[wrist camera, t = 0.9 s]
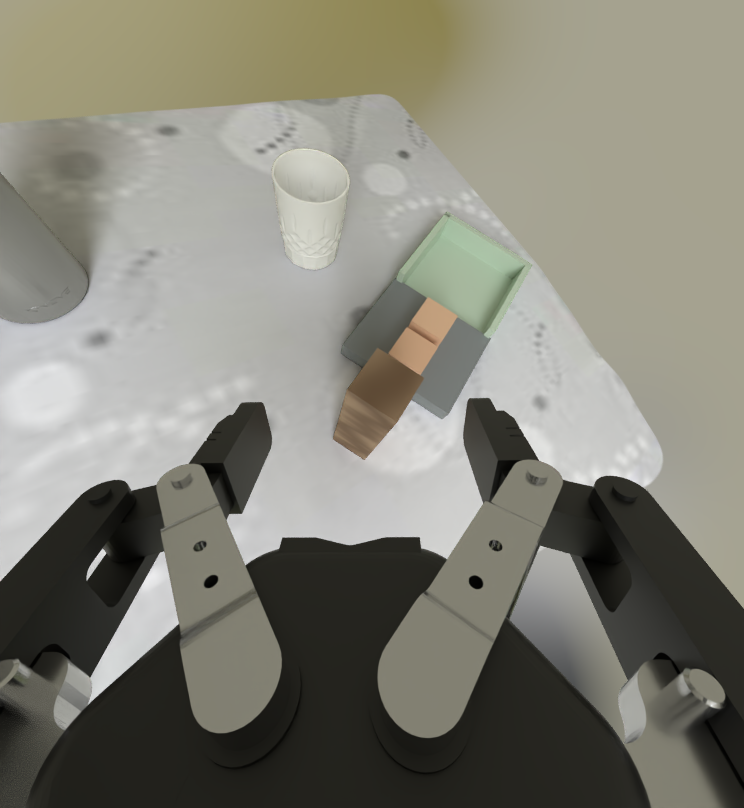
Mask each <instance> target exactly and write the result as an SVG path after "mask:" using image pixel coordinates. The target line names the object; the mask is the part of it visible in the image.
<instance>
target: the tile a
mask: <svg viewBox="0 0 744 808" xmlns="http://www.w3.org/2000/svg"><path fill="white" fill-rule="evenodd" d="M437 348H438V347H437V346H436V345H434V344H433V343H431V342H430V341H428V340H427V339H425V338H423V337H422V336H420V335H419V334H417V333H416V332H414V331H413V330H411V329H409V328H408V327H407V328H406V329H405V330H404V332H403V333H402V335H401V336H400V337H399V339H398V340H397V342H396V343H395V344H394V346H393V347H392V349H391V350H390V352H389V353H388V355H390V356H391V357H393V358H394V359H396V360H397V361H399V362H400V363H402V364H404V365H405V366H407V367H408V368H410V369H411V370H413V371H414V372H416V373H417V374H419V375H421V374H422V372H423V370H424V369H425V367H426V366H427V364H428V362H429V361H430V359H431V358H432V356H433V355H434V353H435V351H436V350H437Z"/></svg>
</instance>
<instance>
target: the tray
mask: <svg viewBox="0 0 744 808" xmlns="http://www.w3.org/2000/svg"><path fill="white" fill-rule="evenodd" d="M531 266H532V264H531V263H529V262H528V261H526V260H524V259H523V258H521V257H519V256H518V255H516V254H515V253H513V252H511V251H510V250H508V249H507V248H505V247H503V246H502V245H500V244H499V243H497V242H495V241H494V240H492V239H490V238H489V237H487V236H486V235H484V234H482V233H481V232H479V231H478V230H476V229H474V228H473V227H471V226H470V225H468V224H466V223H465V222H463V221H461V220H460V219H458V218H457V217H455V216H453V215H452V214H450V213H449V212H446V213H445V214H444V216H443V217H442V218H441V219H440V221H439V222H438V223H437V224H436V226H435V227H434V228H433V229H432V231H431V232H430V233H429V234H428V236H427V237H426V238H425V239H424V241H423V242H422V243H421V244H420V246H419V247H418V248H417V249H416V251H415V252H414V253H413V254H412V256H411V257H410V258H409V260H408V261H407V262H406V263H405V265H404V266H403V267H402V268H401V270H400V271H399V273H398V276H397V279H396V280H397V281H399V282H400V283H402V282H403V283H404V284H406V285H408V286H409V287H411V288H412V289H414V290H415V291H417V292H419V293H420V294H422V295H423V296H425V297H426V298H428V297H429V298H431V299H432V300H434V301H435V302H437V303H439V304H440V305H442V306H443V307H445V308H446V309H448V310H450V311H451V312H453V313H454V314H456V315H457V316H458V318H460V319H461V320H463V321H464V322H466V323H467V324H469V325H471V326H472V327H474V328H475V329H477V330H478V331H480V332H482V333H483V334H484V336H485V337H487V338H490V337H491V336H492V335H493V334H494V333H495V331H496V329H497V328H498V326H499V324H500V322H501V320H502V319H503V317H504V315H505V313H506V311H507V310H508V308H509V306H510V304H511V302H512V301H513V299H514V297H515V295H516V293H517V292H518V290H519V288H520V286H521V284H522V283H523V281H524V279H525V277H526V275H527V274H528V272H529V270H530V268H531Z"/></svg>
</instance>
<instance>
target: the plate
mask: <svg viewBox="0 0 744 808" xmlns="http://www.w3.org/2000/svg"><path fill="white" fill-rule="evenodd" d="M396 279H397V278H395V279H394V281H393V282H392V283H391V284H390V286H389V287H388V288H387V289H386V291H385V292H384V293H383V294H382V296H381V297H380V298H379V299H378V301H377V302H376V303H375V305H374V306H373V307H372V308H371V310H370V311H369V312H368V313H367V315H366V316H365V317H364V318H363V320H362V321H361V322H360V323H359V325H358V326H357V327H356V329H355V330H354V331H353V332H352V334H351V335H350V336H349V337H348V339H347V340H346V341H345V342H344V344H343V345H342V350H341V354H342V355H344V356H345V357H347V358H348V359H350V360H352V361H353V362H355V363H356V364H358V365H359V366H361V367H362V368H363V367H364V366H365V364H366V363H367V362H368V360H369V359H370V358H371V356H372V355H373V353H374V352H375V351H376V349H377V348H379V349H380V350H382V351H383V352H385V353H387V354H388V353H389V352H390V350H391V349H392V347H393V346H394V344H395V343H396V342H397V340H398V339H399V337H400V336H401V335H402V333H403V332H404V330H405V329H406V328H407V327H408V326H409V324H410V322H411V320H412V319H413V318H414V316H415V315H416V313H417V312H418V311H419V309H420V308H421V306H422V305H423V303H424V302H425V301H426V299H427V298H426V297H425V296H423V295H422V294H420V293H419V292H417V291H415V290H414V289H412V288H411V287H409V286H408V285H406V284H404V283H403V282H402V283H400V282H399V281H397V280H396ZM490 339H491V338H487V337H485V336H484V334H483V333H482V332H480V331H478V330H477V329H475V328H474V327H472V326H471V325H469V324H467V323H466V322H464V321H463V320H461V319H460V318H458V317H457V318H456V320H455V321H454V323H453V325H452V326H451V328H450V329H449V331H448V333H447V334H446V336H445V337H444V339H443V340H442V342H441V343H440V345H439V346H438V348H437V350H436V351H435V353H434V355H433V356H432V358H431V359H430V361H429V362H428V364H427V366H426V367H425V369H424V370H423V372H422V374H421V376H422V377H424V380H423V382H422V383H421V385H420V386H419V388H418V390H417V391H416V393H415V394H414V396H413V398H412V399H411V400H413V401H415V402H416V403H418V404H419V405H421V406H422V407H424V408H425V409H427V410H428V411H430V412H431V413H433V414H435V415H436V416H438V417H439V418H441V419H443V418H444V417H445V416H447V415H448V414H449V412H450V411H451V409H452V407H453V405H454V403H455V402H456V400H457V398H458V396H459V394H460V393H461V391H462V389H463V387H464V386H465V384H466V382H467V380H468V378H469V377H470V375H471V373H472V371H473V369H474V368H475V366H476V364H477V362H478V360H479V359H480V357H481V355H482V353H483V351H484V350H485V348H486V346H487V344H488V342H489V341H490Z"/></svg>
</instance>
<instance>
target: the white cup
mask: <svg viewBox="0 0 744 808" xmlns="http://www.w3.org/2000/svg"><path fill="white" fill-rule="evenodd" d="M272 179H273V186H274V192H275V199H276V206H277V213H278V217H279V224H280V229H281V234H282V236H283V242H284V248H285V253H286V255H287V257H288V258H289V259H290V260H291V261H292V263H294V264H296V265H298V266H300V267H302V268H304V269H312V270H317V269H321V268H325V267H327V266H328V265H330V264H331V263H332V262H333V261H334V260H335V257H336V254H337V250H338V243H339V241H340V236H341V231H342V226H343V221H344V215H345V209H346V203H347V197H348V191H349V185H350V178H349V174H348V172H347V170H346V168H345V167H344V165H343V164H342V163H341V162H340V161H339V160H337V159H336V158H335V157H333V156H331V155H329V154H327V153H325V152H323V151H319V150H315V149H309V148H299V149H293V150H289V151H287V152H284V153H283V154H281V155H280V156H279V157H277V159H276V160H275V161H274V163H273V166H272Z"/></svg>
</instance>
